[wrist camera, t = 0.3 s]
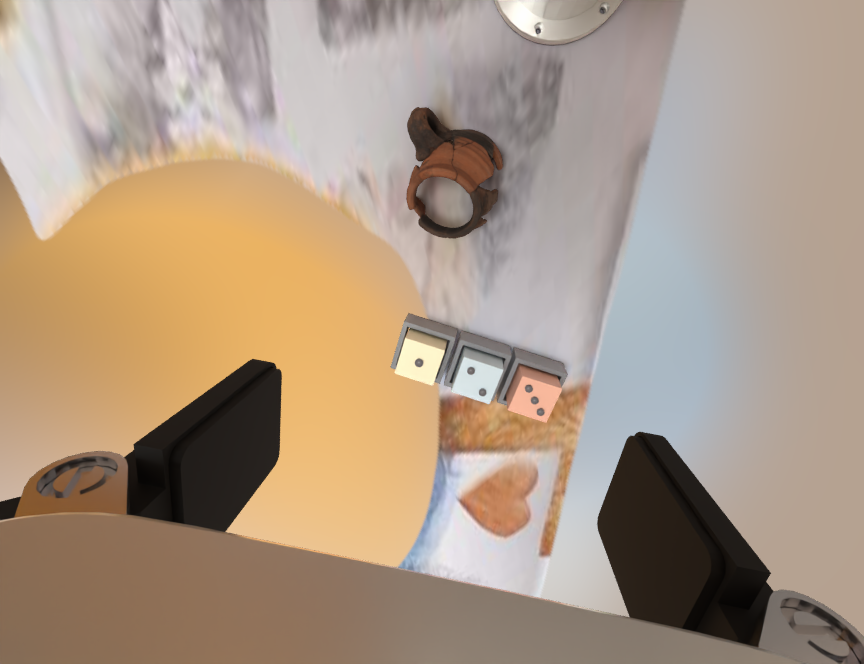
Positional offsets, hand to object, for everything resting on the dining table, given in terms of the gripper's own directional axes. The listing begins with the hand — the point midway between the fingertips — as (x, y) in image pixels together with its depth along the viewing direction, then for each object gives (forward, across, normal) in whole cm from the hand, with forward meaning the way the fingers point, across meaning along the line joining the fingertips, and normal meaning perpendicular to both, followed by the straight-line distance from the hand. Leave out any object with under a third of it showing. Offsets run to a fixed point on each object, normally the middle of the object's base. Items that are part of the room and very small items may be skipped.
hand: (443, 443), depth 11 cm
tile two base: (+36, -3, +12) cm, 38 cm away
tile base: (+36, -10, +13) cm, 39 cm away
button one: (+34, +3, +11) cm, 36 cm away
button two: (+34, -3, +12) cm, 36 cm away
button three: (+34, -10, +13) cm, 38 cm away
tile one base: (+36, +3, +11) cm, 37 cm away
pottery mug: (+35, +3, -8) cm, 36 cm away
